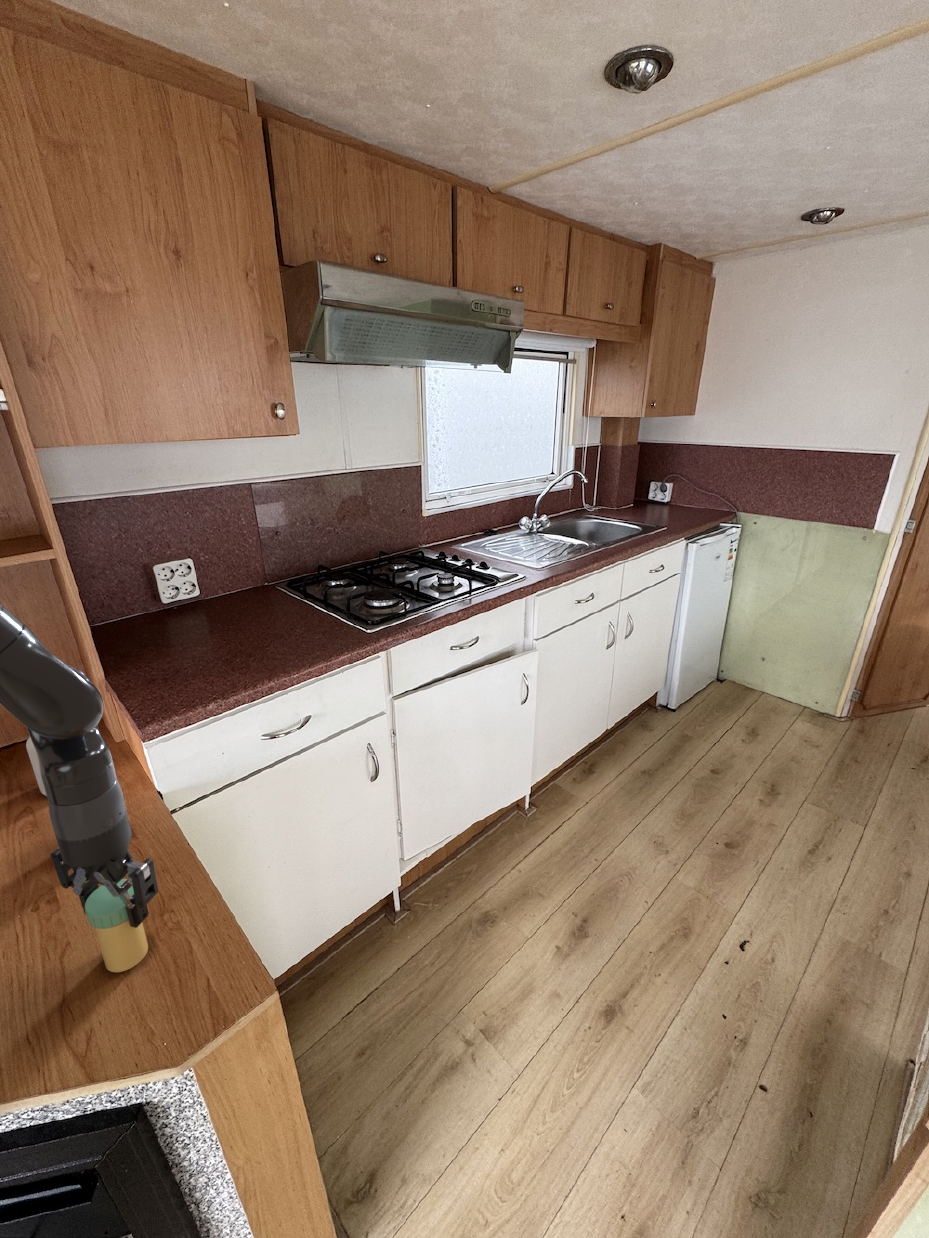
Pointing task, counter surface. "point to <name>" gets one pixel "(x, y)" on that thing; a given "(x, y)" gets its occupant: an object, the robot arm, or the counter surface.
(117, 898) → the lid
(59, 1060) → the counter surface
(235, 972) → the counter surface
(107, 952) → the jar
